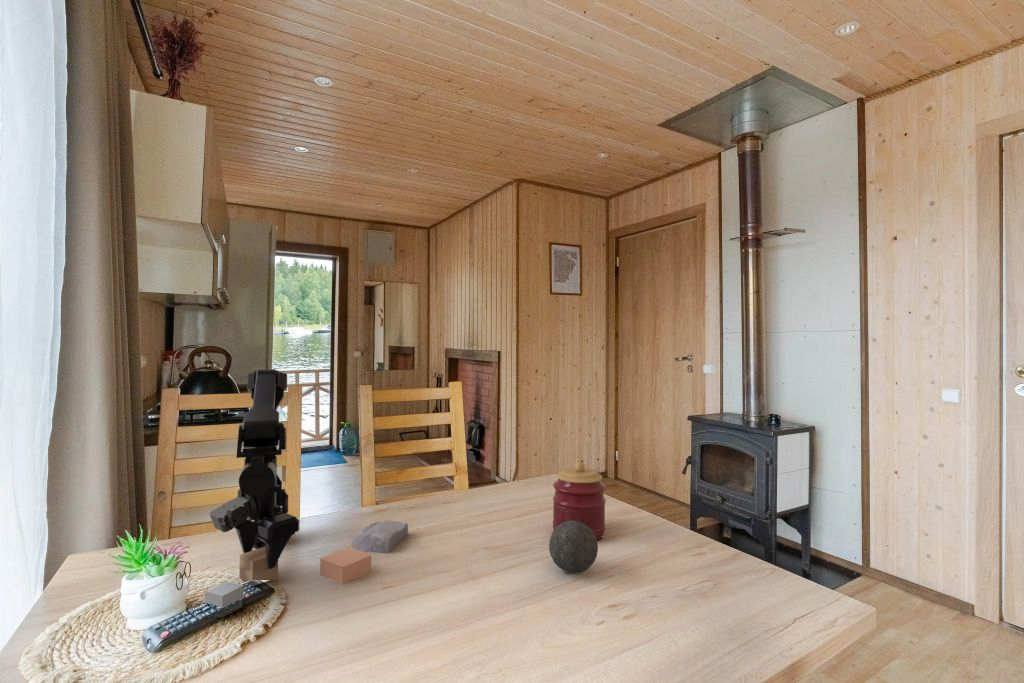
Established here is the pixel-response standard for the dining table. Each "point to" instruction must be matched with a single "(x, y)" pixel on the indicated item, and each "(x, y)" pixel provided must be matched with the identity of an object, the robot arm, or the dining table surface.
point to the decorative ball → (573, 546)
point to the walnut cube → (256, 566)
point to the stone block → (380, 536)
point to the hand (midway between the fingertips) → (259, 561)
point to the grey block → (224, 594)
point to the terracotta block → (345, 565)
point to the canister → (580, 498)
